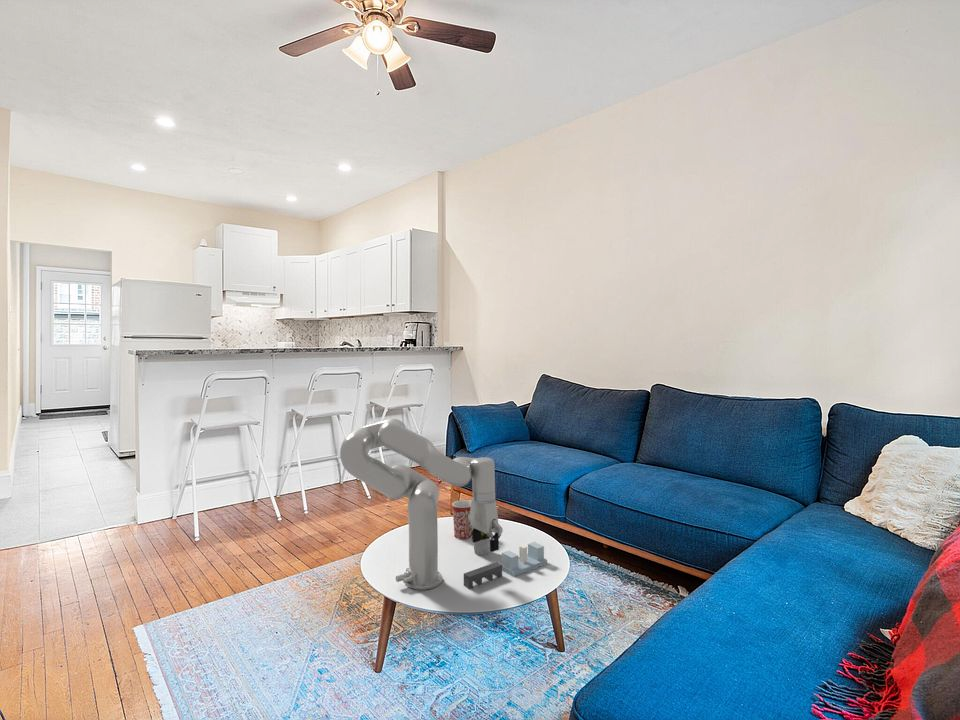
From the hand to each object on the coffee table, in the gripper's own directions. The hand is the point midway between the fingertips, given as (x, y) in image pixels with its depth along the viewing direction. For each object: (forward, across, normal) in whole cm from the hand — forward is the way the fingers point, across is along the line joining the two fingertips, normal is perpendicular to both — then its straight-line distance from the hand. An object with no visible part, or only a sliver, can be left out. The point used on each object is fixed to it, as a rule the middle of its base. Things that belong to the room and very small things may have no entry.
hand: (485, 546), depth 167 cm
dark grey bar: (+12, -1, -1) cm, 12 cm away
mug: (+12, -35, +17) cm, 40 cm away
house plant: (+12, -20, +11) cm, 26 cm away
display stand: (+12, -1, +17) cm, 21 cm away
